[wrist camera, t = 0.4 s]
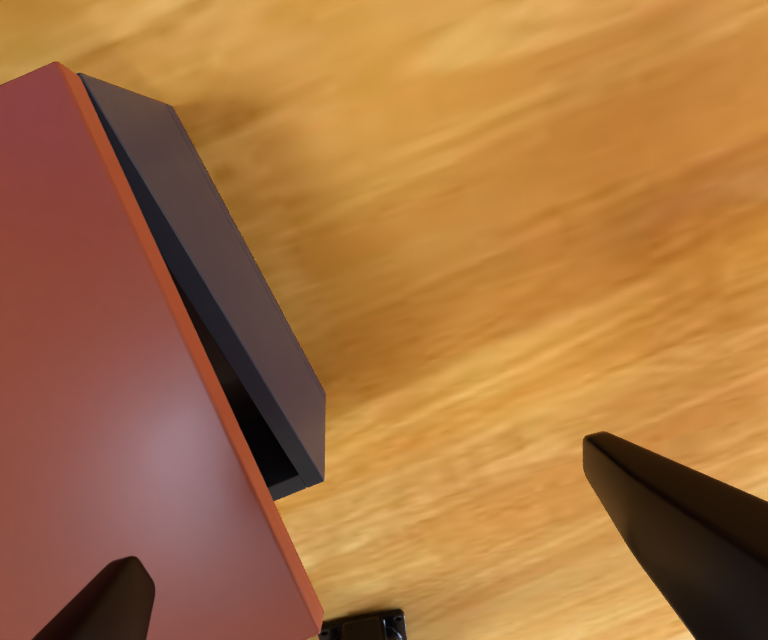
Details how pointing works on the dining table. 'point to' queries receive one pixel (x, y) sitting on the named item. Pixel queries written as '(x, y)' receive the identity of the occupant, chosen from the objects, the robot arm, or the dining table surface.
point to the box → (220, 289)
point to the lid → (117, 403)
